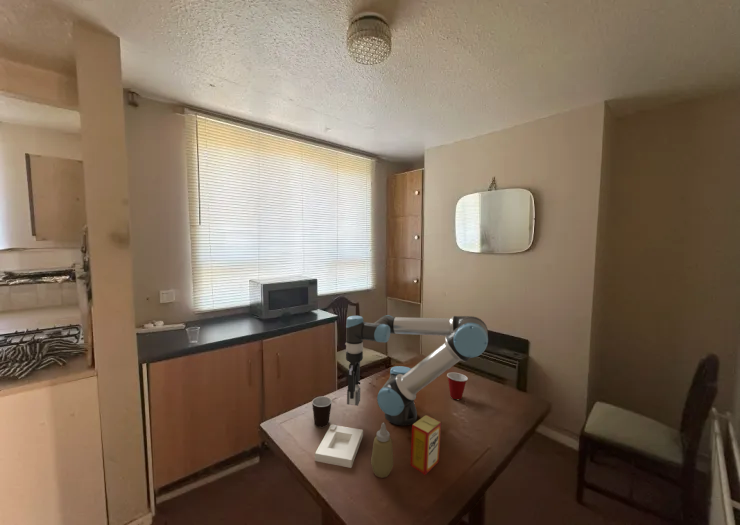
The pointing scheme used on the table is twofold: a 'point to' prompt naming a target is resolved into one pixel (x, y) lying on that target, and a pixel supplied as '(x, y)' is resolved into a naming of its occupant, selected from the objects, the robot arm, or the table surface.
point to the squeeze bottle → (382, 453)
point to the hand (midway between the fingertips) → (353, 401)
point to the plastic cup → (456, 384)
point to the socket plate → (339, 446)
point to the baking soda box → (425, 444)
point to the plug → (356, 395)
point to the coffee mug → (321, 411)
